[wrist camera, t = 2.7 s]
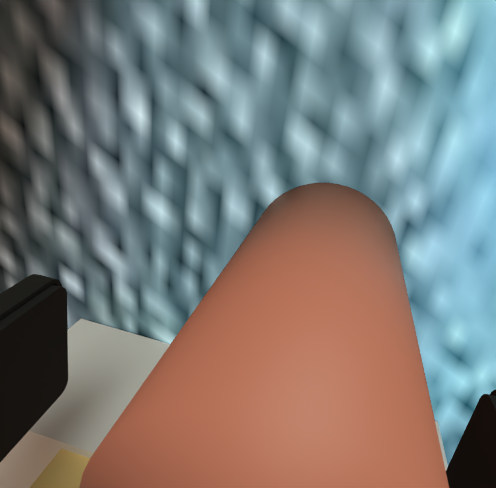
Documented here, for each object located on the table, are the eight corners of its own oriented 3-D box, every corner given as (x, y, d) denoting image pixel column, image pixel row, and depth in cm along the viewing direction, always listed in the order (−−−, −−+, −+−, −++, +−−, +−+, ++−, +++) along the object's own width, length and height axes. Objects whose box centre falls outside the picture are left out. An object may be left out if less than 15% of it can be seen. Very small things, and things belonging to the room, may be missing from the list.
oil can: (416, 200, 14) (700, 837, 2) (374, 328, 16) (413, 1007, 4) (265, 169, 15) (-89, 517, 3) (244, 295, 17) (-16, 787, 5)
